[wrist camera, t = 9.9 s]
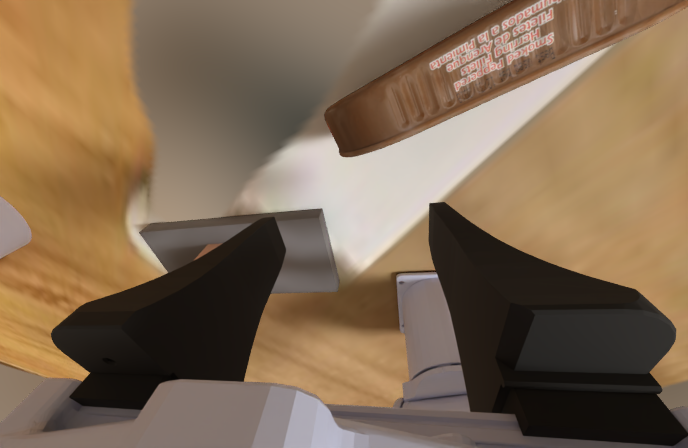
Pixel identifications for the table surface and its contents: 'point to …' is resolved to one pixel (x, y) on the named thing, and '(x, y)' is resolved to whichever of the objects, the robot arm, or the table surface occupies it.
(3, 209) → the wedge on round base
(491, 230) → the table surface
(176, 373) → the robot arm
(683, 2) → the tin
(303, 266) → the charcoal board
